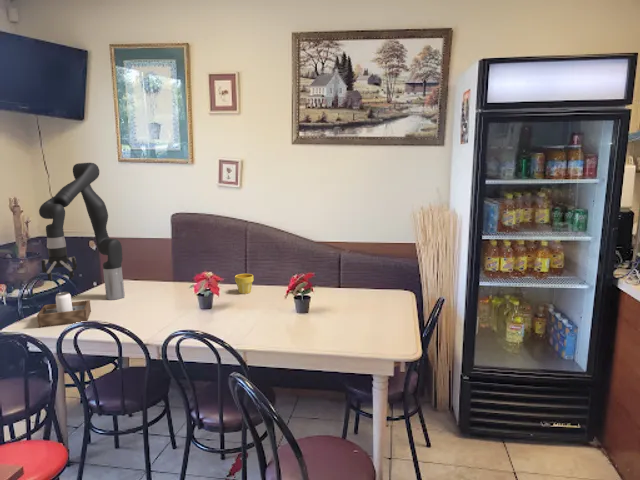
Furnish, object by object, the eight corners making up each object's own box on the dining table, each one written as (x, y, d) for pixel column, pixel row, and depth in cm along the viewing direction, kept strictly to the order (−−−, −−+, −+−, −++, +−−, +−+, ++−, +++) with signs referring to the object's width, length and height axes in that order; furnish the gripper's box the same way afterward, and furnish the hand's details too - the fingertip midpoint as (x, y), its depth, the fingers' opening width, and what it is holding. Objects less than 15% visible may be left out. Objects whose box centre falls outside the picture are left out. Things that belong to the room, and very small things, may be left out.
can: (66, 320, 213) (63, 295, 211) (54, 319, 215) (51, 295, 212) (76, 315, 219) (73, 291, 217) (65, 314, 221) (62, 291, 219)
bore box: (91, 311, 228) (89, 300, 227) (87, 321, 213) (85, 309, 212) (45, 316, 221) (44, 305, 220) (38, 327, 206) (36, 315, 205)
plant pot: (246, 288, 264) (246, 272, 262) (257, 292, 257) (257, 275, 255) (232, 292, 257) (231, 275, 255) (242, 296, 250) (242, 279, 248)
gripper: (75, 243, 216) (79, 275, 219) (41, 246, 212) (45, 279, 215) (72, 246, 209) (77, 279, 213) (37, 249, 205) (42, 283, 208)
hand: (61, 279), depth 214 cm, fingers open, 8 cm apart
